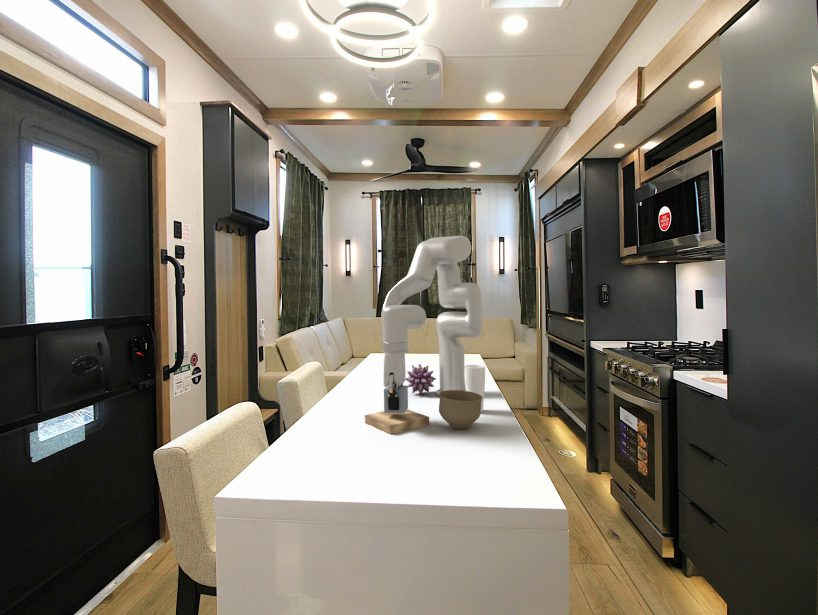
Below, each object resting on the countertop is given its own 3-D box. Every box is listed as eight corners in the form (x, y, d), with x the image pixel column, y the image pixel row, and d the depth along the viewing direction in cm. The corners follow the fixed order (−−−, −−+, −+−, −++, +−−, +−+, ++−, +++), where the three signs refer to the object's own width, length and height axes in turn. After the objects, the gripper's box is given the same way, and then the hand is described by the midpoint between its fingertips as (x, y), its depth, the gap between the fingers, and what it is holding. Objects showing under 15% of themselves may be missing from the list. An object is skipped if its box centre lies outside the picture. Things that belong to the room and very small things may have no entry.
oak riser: (402, 416, 149) (402, 407, 149) (429, 426, 138) (429, 416, 137) (365, 424, 141) (364, 415, 141) (390, 436, 129) (390, 425, 129)
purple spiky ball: (405, 391, 183) (404, 361, 182) (435, 390, 182) (434, 360, 182) (404, 398, 171) (404, 366, 171) (437, 397, 171) (436, 365, 170)
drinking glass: (484, 408, 154) (484, 364, 154) (486, 414, 148) (485, 368, 147) (464, 408, 155) (464, 364, 154) (465, 414, 148) (464, 368, 148)
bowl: (481, 435, 127) (481, 399, 127) (436, 433, 130) (435, 398, 129) (483, 421, 140) (483, 389, 139) (442, 420, 142) (441, 388, 142)
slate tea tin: (389, 407, 142) (388, 385, 142) (408, 408, 141) (407, 385, 141) (384, 412, 137) (383, 389, 136) (404, 413, 135) (403, 389, 135)
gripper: (389, 344, 147) (390, 399, 148) (375, 351, 130) (376, 414, 131) (412, 344, 146) (413, 400, 147) (401, 351, 129) (402, 415, 130)
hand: (396, 406), depth 139 cm, fingers closed on slate tea tin, 6 cm apart
